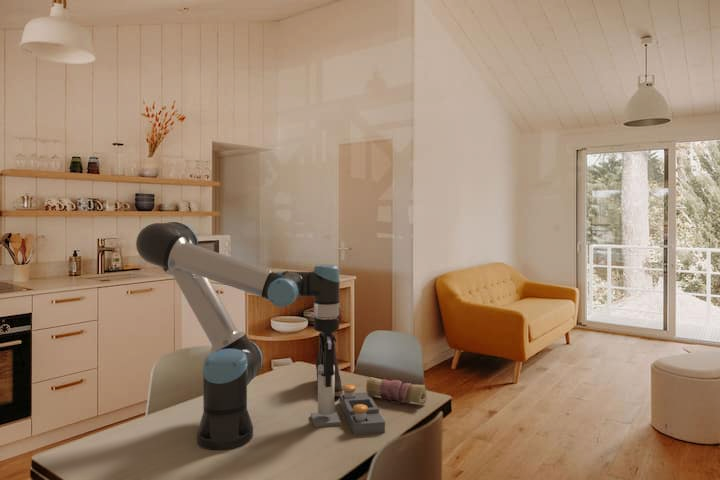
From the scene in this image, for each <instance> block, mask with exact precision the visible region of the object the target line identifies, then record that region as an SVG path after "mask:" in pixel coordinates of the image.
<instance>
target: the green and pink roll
mask: <svg viewBox="0 0 720 480" xmlns="http://www.w3.org/2000/svg"><path fill="white" fill-rule="evenodd" d="M365 388H366V390H365V391H366V393H367V394H368V396H369V397H380V398H381V399H387V400H389V402H390V403H392V404H401V403H403V402H405V403H415V404H418V405H425V404H426V403H427V400H428V396H427V391H426V385H425V384H412V383H411V382H410V383H408V382H404V383H403V381H401V380H399V379H392V380H388V379H386V378H383V379H381V378H376V377H371V376H370V377H369V378H368V379H367V380H366V385H365Z"/></svg>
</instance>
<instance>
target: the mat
mask: <svg viewBox="0 0 720 480" xmlns="http://www.w3.org/2000/svg"><path fill="white" fill-rule="evenodd" d="M310 418H311V421H312V424H313V427H314V428H323V427H334V426H335V427H336V426H337V427H338V426H342V421H341V418H340V416H339V414H338V411H335V410H334V413H333V414H331V415H321V414H319V413H318V412H311V413H310Z"/></svg>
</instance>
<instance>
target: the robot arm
mask: <svg viewBox="0 0 720 480" xmlns="http://www.w3.org/2000/svg"><path fill="white" fill-rule="evenodd" d="M198 240H199V239H198V235H197V234H196V232H195V231H194V230H193V228H192V227H190V226H189V225H187V224H185V223H182V222H178V221H169V222H155V223H151V224H149V225H146V226H145V227H143V228H142V229H141V230H140V231H139V233H138V235H137V237H136V242H135V246H136V247H135V248H136V250H137V253H138V255H139V256H140V257H141V258H142V259H143V260H144V261H146V262H147V263H149V264H152V265H154V266H158V267H160V268H162V270H163V271H164V273H165V274H167V275H169V276H173V278H174V280H175V281H176V284H177V285H178V287H179V289H180V291H181V292H182V294H183V295H184V298H185V299H186V301H187V304H188V305H189V307H190V309H191V310H192V312H193V313H194V315H195V317H196V319H197V321H198V323H199V325H200V326H201V328H202V330H203V332H204V334H205V335H206V337H207V339H208V340H209V342H210V345H211V348H210V353H209V354H207V355H206V357H205V358H204V361H203V367H202V383H203V384H202V387H203V389H202V390H203V391H202V392H203V395H202V397H203V403H202V404H203V405H202V406H203V413H202V415H201V418H200V422H199V425H198V428H197V432H196V443H197V444H198V445H199V446H200V447H202V448H204V449H208V450H215V451H217V450H220V451H222V450H230V449H235V448H238V447H241V446H243V445H246V444H247V443H249V442H250V441H251V440H252V439H253V437H254V424H253V422H252V420H251V416H250V414H249V410H248V404H247V403H248V386H249V384H250V383H251V382H252V381H253V380H254V379H255V377H257V375H258V374H259V372H260V370H261V367H262V363H263V355H262V351H261V349H260V348H259V346H258V345H257V344H256V343H255V342H253V341H251V340H250V339H249V337H248V336H247V334H246V333H245V331H239V330H238V327H236V324H235V323H234V321H233V319H232V317H231V316H230V313H229V312H228V310H227V309H226V307H225V305H224V303H223V301H222V300H221V297H220V296H219V294H218V293H217V291H216V289H215V287H214V286H213V284H212V282H211V281H214V282H217V283H219V284H222V285H226V286H229V287H232V288H234V289H237V290H240V291H243V292H245V293H249V294H252V295H255V296H258V297H261V298H263V299H266V300H268V301H269V302H270V303H271V304H272V305H274V306H276V307H278V308H279V307H280V308H282V307H286V306H289V305H291V304H293V303H294V302H295V301H296V300H297V299H298V298H300V297H301V298H302V297H303V298H304V297H305V298H313V299H314V300H313V316H314V318H313V329H314V330H315V331H316V332H319V333H318V339H319V342H320V353H319V364H324V373H323V374H321V376H323V397H332V375H334V344H335V341H334V337H335V336H334V337H332V332H333V333H334V332H337V331H338V330H340V317H339V316H340V309H342V305H340V283H341V281H340V269H339V267H338V265H334V264H333V265H332V264H317V265H315V266H314V267H313V271H293V270H291V271H290V270H289V271H288V270H284V271H282V270H281V271H276V272H275V271H271V270H270V269H266V268H263V267H260V266H258V265H254V264H251V263H248V262H246V261H243V260H239V259H237V258H234V257H231V256H229V255H225V254H222V253H220V252H216V251H215V250H214V251H213V250H211V249H209V248H205V247H202V246H199V245H198V244H199V241H198Z"/></svg>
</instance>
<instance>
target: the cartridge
mask: <svg viewBox="0 0 720 480" xmlns="http://www.w3.org/2000/svg"><path fill="white" fill-rule="evenodd" d="M323 373H324V364H320V365H318V392H317V413H319V414H321V415H331V414H333V413H334V411H335V396H334V386H335V366H334V375H332V397H323V376H321V374H323Z"/></svg>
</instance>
